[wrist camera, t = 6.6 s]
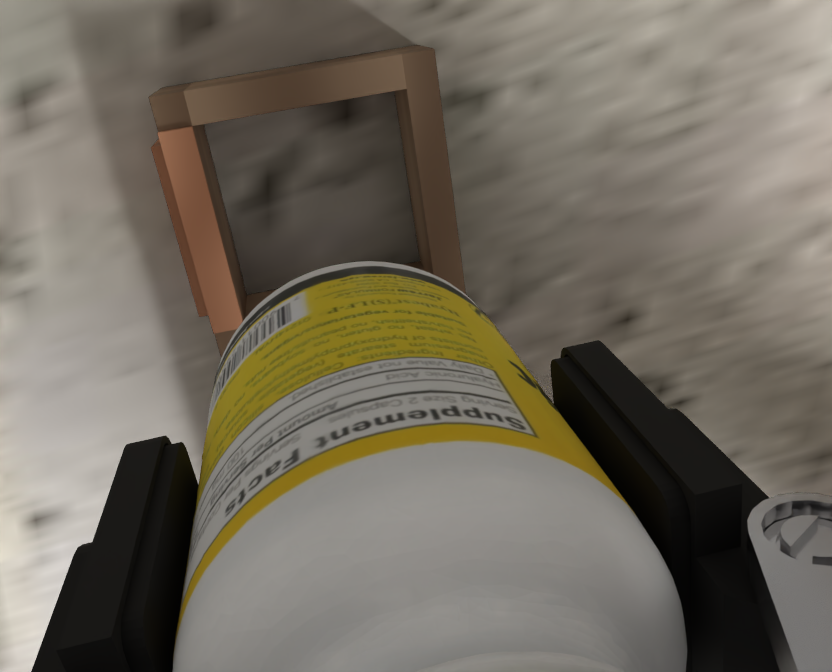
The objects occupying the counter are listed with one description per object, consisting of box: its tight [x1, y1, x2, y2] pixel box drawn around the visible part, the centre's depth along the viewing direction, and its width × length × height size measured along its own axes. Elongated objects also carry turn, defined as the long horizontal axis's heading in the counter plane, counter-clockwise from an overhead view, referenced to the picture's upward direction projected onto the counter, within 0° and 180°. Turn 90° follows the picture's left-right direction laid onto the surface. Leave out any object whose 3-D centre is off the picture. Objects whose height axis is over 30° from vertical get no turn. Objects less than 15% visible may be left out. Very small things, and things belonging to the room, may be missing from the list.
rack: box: [149, 45, 466, 358], centre depth 29 cm, size 9×24×3 cm, turn 8°
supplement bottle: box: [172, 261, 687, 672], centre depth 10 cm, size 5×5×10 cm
